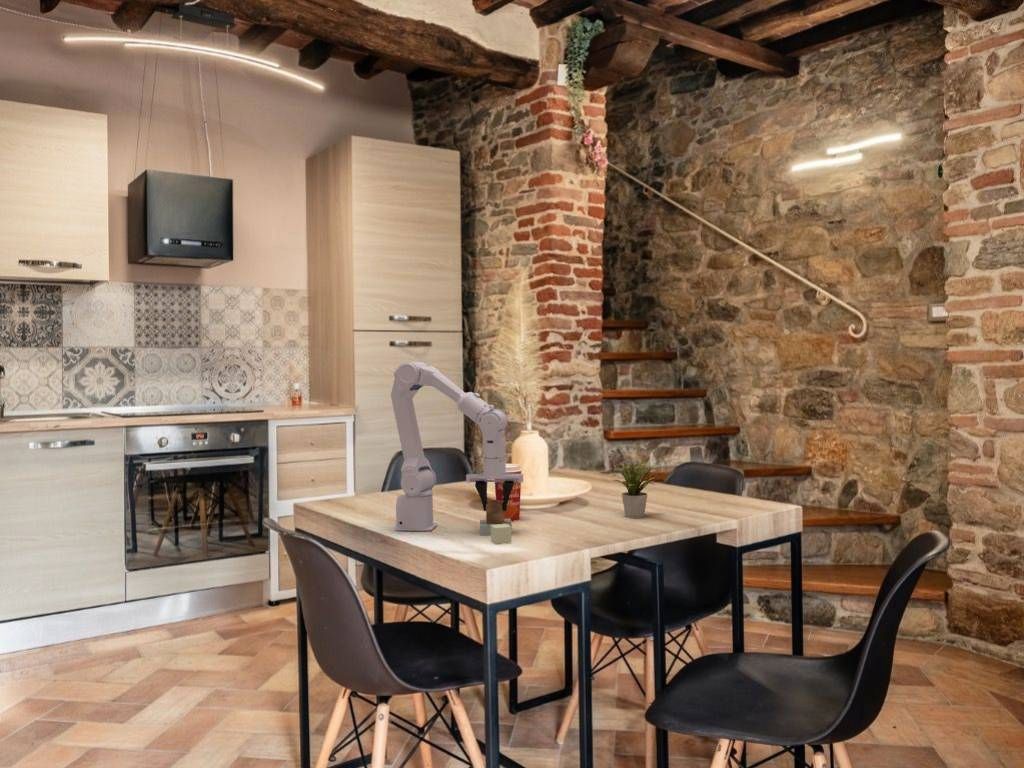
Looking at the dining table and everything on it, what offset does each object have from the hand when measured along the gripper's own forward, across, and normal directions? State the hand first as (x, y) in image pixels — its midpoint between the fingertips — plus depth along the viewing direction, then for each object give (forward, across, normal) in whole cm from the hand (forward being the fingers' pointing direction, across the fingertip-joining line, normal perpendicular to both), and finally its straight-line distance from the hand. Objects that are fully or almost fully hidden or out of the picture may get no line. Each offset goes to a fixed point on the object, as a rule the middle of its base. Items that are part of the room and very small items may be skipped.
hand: (495, 510), depth 211 cm
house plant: (+6, +36, +21) cm, 42 cm away
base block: (+6, 0, 0) cm, 6 cm away
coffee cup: (+6, +1, +17) cm, 18 cm away
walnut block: (+3, 0, 0) cm, 3 cm away
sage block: (+6, +3, -11) cm, 13 cm away
